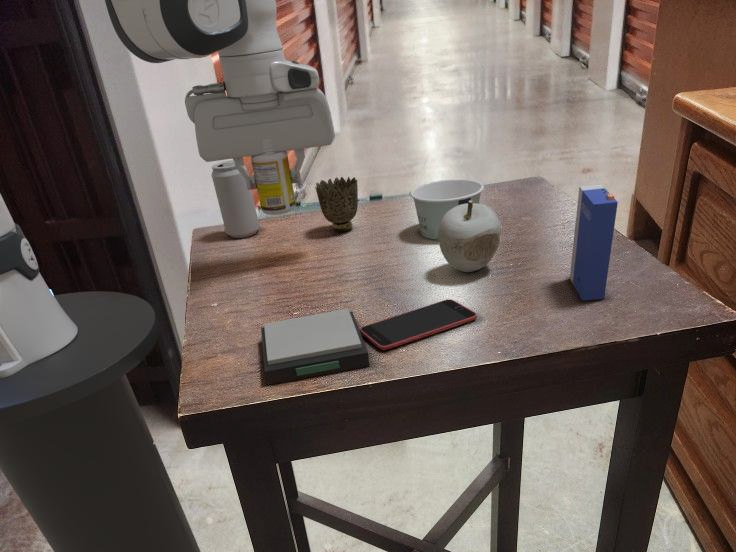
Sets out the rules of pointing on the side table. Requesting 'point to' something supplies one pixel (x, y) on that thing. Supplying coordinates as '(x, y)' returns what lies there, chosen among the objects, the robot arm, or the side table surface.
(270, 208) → the supplement bottle
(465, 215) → the decorative object
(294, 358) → the scale
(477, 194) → the food container
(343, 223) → the cup
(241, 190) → the beverage can
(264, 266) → the side table surface
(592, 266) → the walkman
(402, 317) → the smartphone
